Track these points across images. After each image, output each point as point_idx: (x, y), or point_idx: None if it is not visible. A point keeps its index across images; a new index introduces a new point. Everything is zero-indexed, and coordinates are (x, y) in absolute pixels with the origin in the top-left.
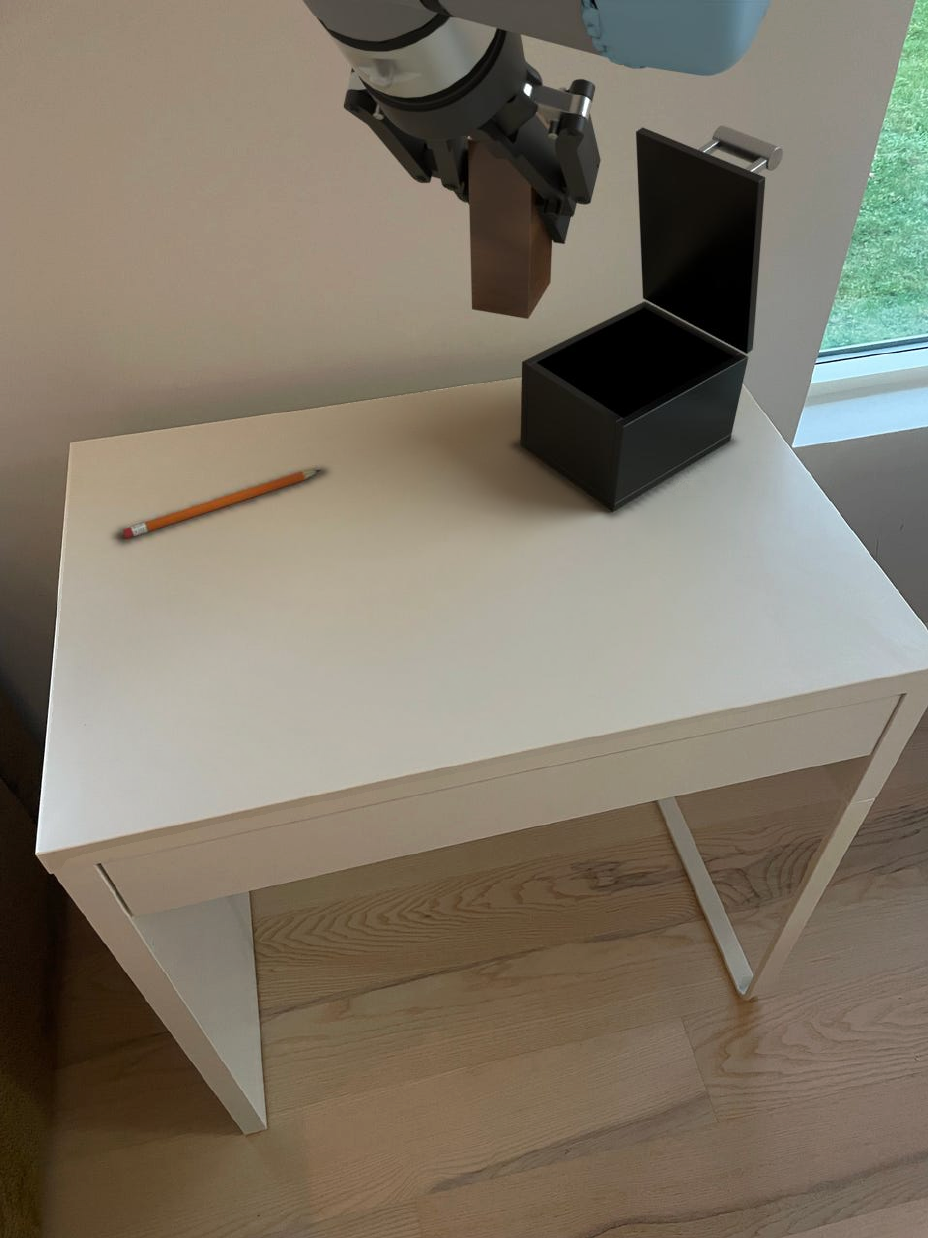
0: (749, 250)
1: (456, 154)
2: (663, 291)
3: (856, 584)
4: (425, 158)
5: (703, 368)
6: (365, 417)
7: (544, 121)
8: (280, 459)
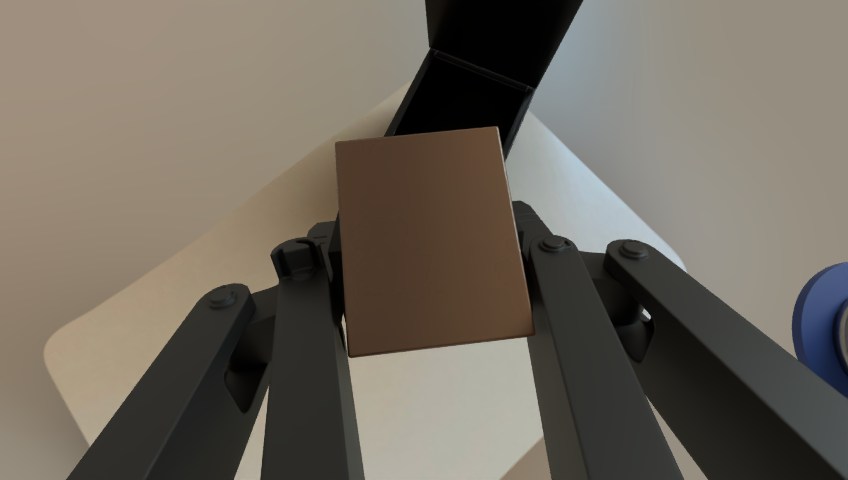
0: (564, 24)
1: (362, 473)
2: (452, 45)
3: (636, 234)
4: (244, 355)
5: (494, 98)
6: (252, 214)
7: (488, 172)
8: (210, 287)
